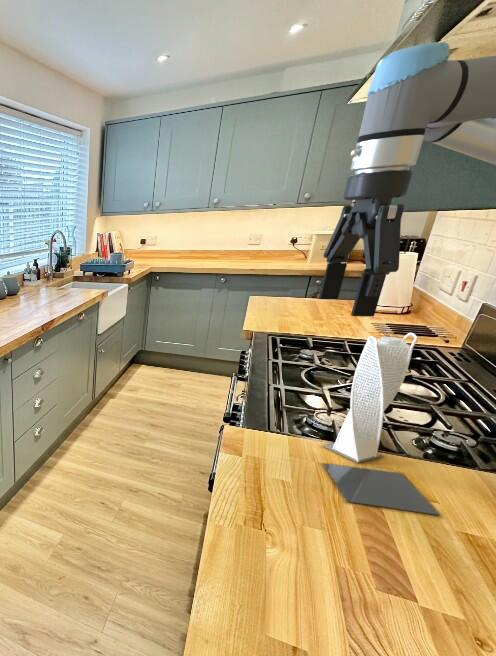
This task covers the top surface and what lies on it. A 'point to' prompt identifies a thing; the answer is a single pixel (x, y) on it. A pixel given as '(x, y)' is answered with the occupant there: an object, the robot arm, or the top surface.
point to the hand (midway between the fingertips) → (343, 306)
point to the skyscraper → (372, 396)
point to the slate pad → (378, 489)
